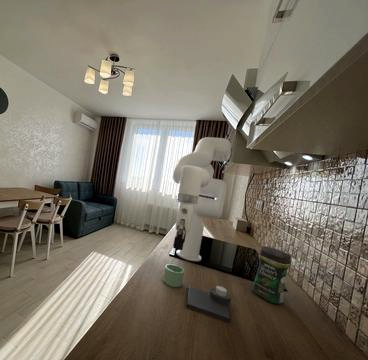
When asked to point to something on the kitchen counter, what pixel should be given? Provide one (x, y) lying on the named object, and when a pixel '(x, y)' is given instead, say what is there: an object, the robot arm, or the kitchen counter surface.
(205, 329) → the kitchen counter surface
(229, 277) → the kitchen counter surface
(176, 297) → the kitchen counter surface
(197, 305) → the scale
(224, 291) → the power button
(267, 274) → the coffee jar
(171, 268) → the green cup
